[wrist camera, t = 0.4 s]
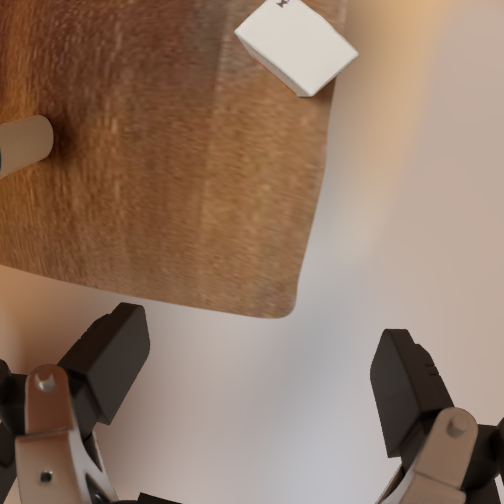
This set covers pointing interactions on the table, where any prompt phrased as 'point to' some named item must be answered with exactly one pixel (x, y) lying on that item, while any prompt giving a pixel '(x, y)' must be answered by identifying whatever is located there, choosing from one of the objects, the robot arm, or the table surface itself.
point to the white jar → (24, 143)
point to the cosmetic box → (295, 45)
